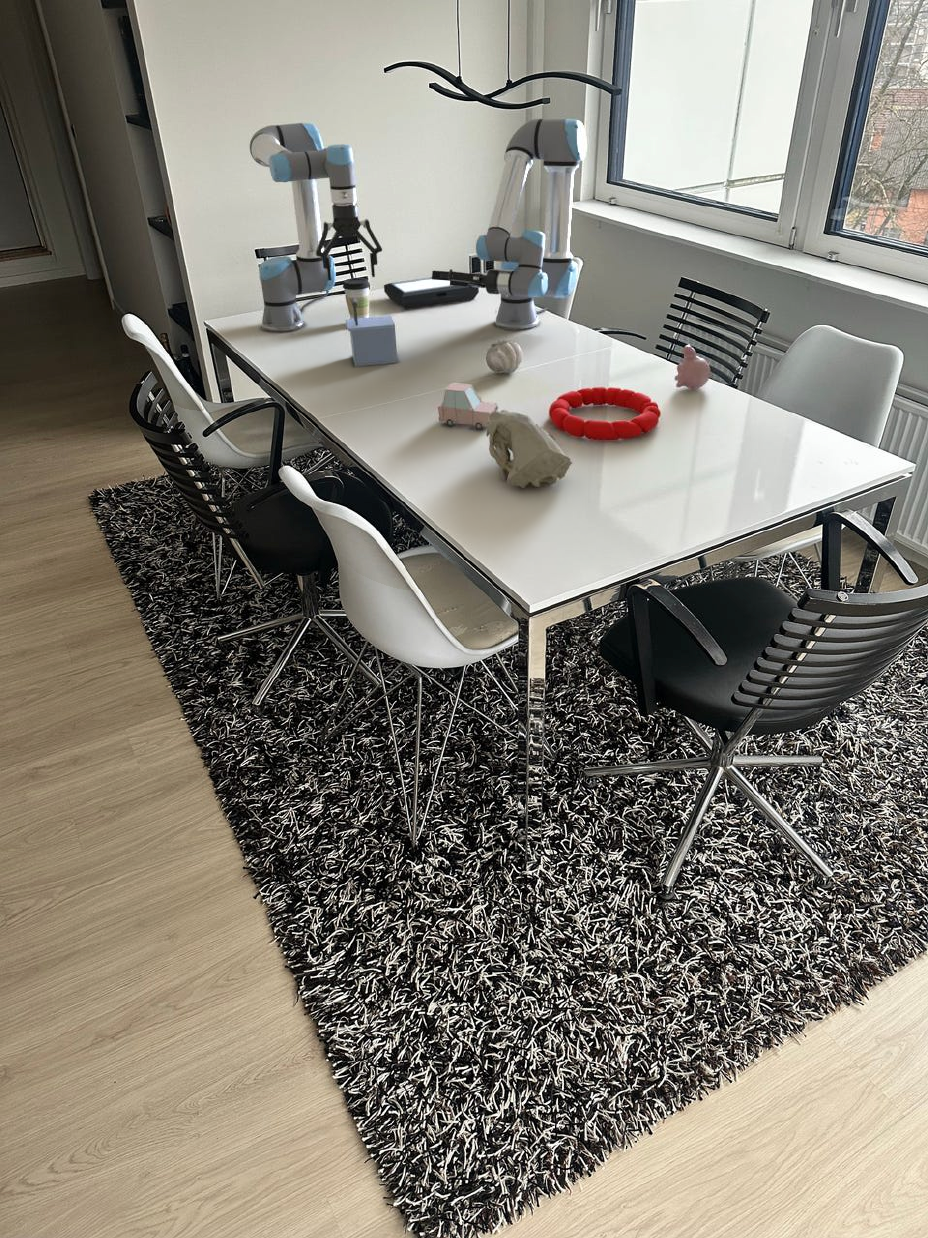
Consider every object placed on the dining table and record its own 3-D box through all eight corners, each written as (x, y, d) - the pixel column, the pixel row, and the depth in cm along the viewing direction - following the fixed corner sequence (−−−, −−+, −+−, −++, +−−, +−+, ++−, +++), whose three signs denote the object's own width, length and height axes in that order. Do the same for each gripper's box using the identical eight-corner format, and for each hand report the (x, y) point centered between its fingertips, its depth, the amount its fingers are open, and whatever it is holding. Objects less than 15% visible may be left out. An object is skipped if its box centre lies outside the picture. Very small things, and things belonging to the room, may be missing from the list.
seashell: (476, 372, 280) (475, 340, 274) (517, 363, 285) (517, 332, 280) (493, 381, 272) (492, 349, 266) (534, 372, 278) (534, 340, 272)
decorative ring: (589, 435, 224) (684, 402, 234) (527, 398, 247) (617, 369, 256) (589, 461, 229) (683, 427, 238) (529, 422, 251) (617, 393, 260)
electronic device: (401, 294, 334) (383, 282, 349) (402, 311, 338) (384, 299, 353) (478, 283, 345) (457, 272, 360) (478, 299, 348) (458, 288, 363)
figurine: (665, 387, 264) (669, 347, 257) (693, 380, 268) (698, 340, 261) (686, 396, 257) (690, 355, 250) (714, 388, 262) (720, 348, 255)
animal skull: (496, 517, 219) (521, 479, 201) (463, 429, 225) (484, 384, 207) (557, 503, 225) (586, 465, 206) (523, 417, 231) (549, 373, 212)
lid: (348, 331, 281) (345, 304, 277) (345, 322, 290) (343, 296, 285) (395, 327, 283) (393, 300, 279) (391, 318, 292) (389, 292, 287)
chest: (355, 366, 288) (351, 331, 281) (352, 356, 296) (348, 322, 290) (397, 362, 290) (395, 327, 283) (393, 352, 298) (391, 318, 292)
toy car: (488, 432, 240) (488, 396, 234) (436, 426, 244) (434, 390, 239) (499, 419, 247) (499, 384, 241) (448, 413, 252) (447, 379, 246)
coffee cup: (372, 326, 323) (368, 283, 314) (345, 327, 323) (340, 284, 315) (374, 318, 331) (371, 276, 322) (348, 319, 331) (344, 277, 323)
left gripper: (302, 208, 261) (312, 283, 273) (387, 202, 264) (392, 277, 276) (301, 203, 267) (310, 277, 279) (384, 198, 270) (389, 271, 282)
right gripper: (483, 289, 278) (423, 284, 286) (512, 299, 300) (456, 294, 308) (486, 263, 276) (425, 259, 284) (515, 275, 299) (458, 271, 306)
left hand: (351, 277), depth 277 cm, fingers open, 13 cm apart
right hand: (441, 277), depth 296 cm, fingers open, 13 cm apart
